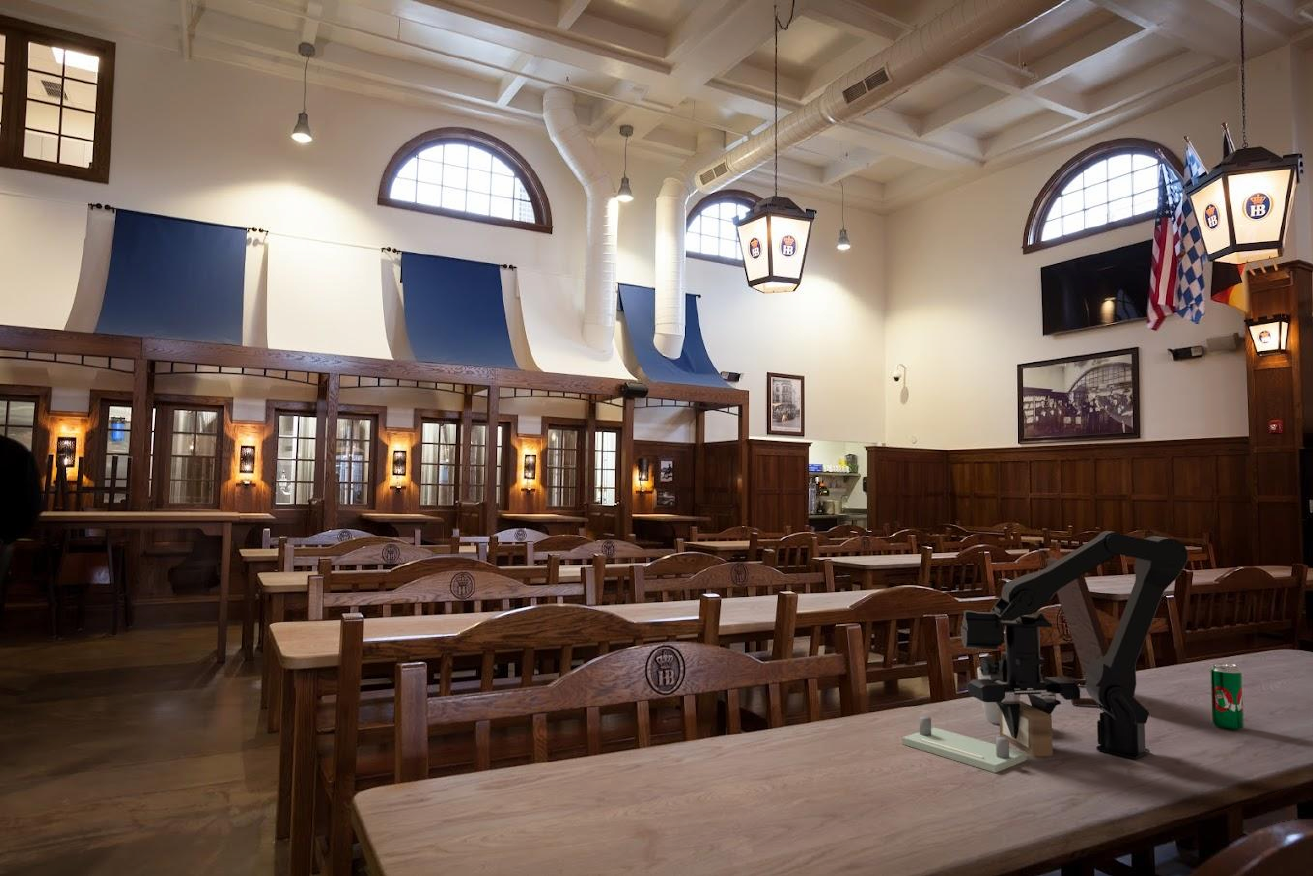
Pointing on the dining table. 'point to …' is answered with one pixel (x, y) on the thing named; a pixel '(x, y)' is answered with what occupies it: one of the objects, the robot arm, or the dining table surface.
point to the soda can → (1227, 696)
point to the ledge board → (964, 748)
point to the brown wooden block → (1030, 730)
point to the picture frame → (1082, 626)
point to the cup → (992, 703)
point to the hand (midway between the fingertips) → (1024, 737)
